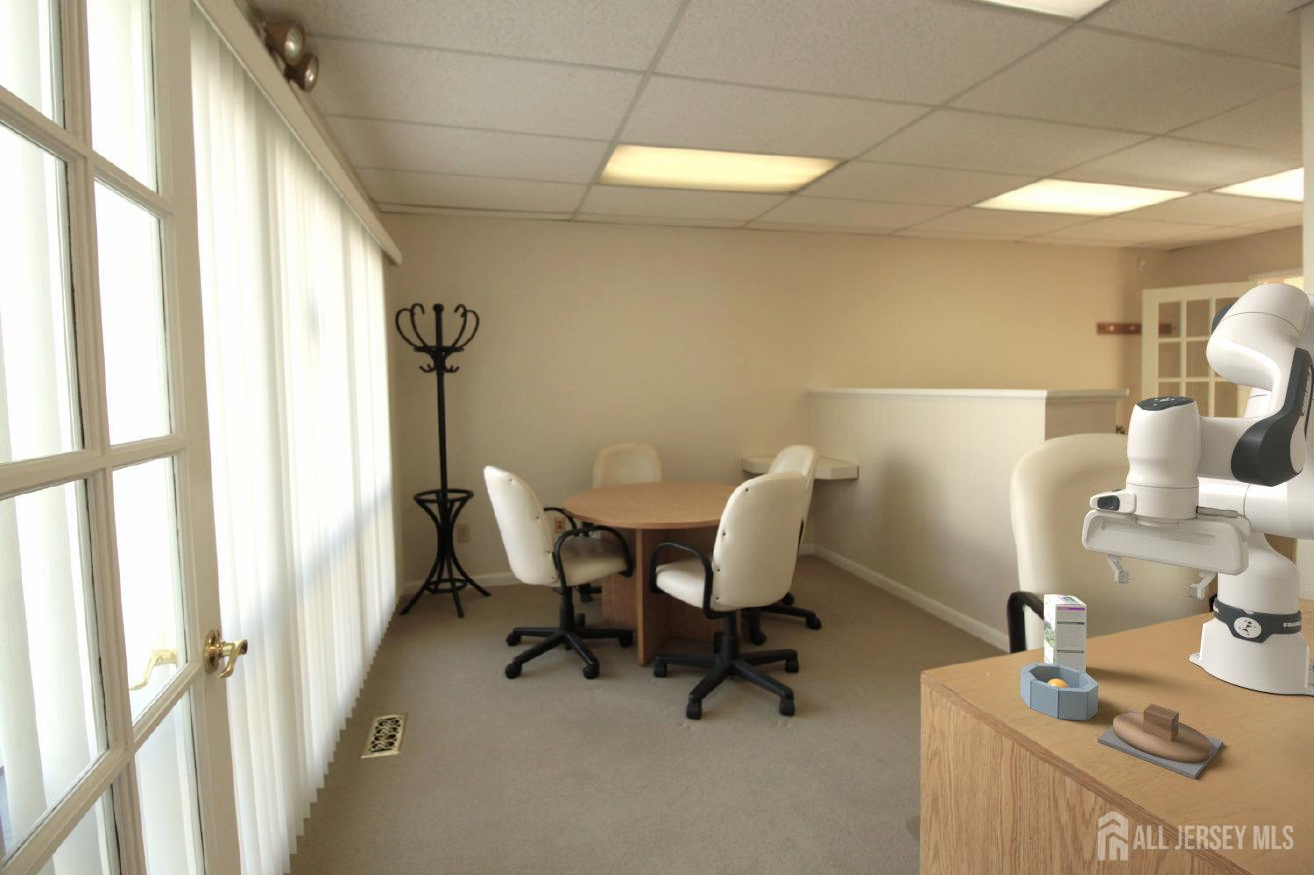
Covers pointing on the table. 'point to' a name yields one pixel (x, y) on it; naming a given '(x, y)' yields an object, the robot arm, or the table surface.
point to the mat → (1181, 767)
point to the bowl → (1059, 691)
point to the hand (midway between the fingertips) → (1157, 589)
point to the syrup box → (1065, 631)
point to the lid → (1162, 735)
